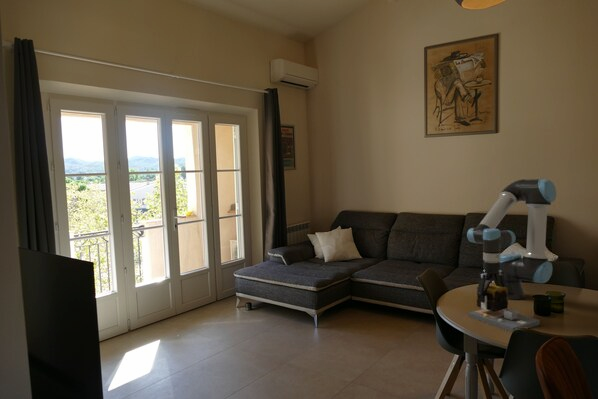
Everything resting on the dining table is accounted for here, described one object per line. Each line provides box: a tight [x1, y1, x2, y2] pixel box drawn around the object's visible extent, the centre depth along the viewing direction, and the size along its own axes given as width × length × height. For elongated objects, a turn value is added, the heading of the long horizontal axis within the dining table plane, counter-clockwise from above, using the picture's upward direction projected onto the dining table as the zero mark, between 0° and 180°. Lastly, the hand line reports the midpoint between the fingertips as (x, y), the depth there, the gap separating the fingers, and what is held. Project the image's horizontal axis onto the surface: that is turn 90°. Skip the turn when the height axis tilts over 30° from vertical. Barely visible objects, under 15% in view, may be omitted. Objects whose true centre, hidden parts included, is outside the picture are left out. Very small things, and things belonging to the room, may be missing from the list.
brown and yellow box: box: [476, 283, 509, 312], centre depth 203 cm, size 10×10×10 cm
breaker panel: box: [468, 308, 541, 333], centre depth 198 cm, size 24×18×3 cm
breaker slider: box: [504, 308, 519, 320], centre depth 194 cm, size 4×4×4 cm
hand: (492, 306), depth 204 cm, fingers closed on brown and yellow box, 10 cm apart
